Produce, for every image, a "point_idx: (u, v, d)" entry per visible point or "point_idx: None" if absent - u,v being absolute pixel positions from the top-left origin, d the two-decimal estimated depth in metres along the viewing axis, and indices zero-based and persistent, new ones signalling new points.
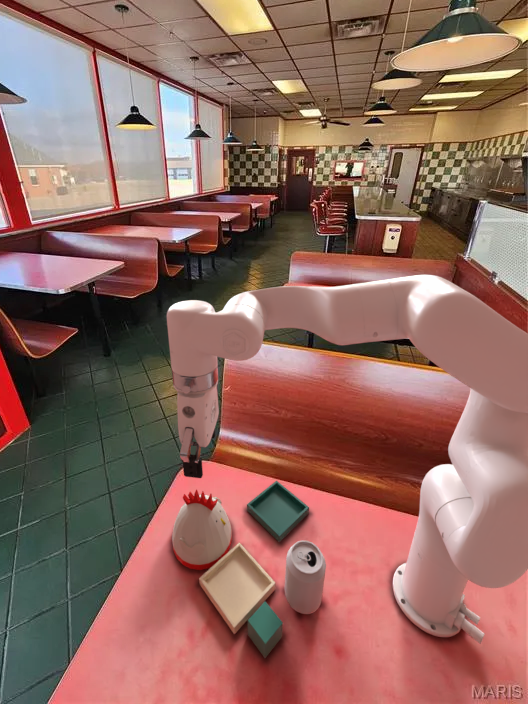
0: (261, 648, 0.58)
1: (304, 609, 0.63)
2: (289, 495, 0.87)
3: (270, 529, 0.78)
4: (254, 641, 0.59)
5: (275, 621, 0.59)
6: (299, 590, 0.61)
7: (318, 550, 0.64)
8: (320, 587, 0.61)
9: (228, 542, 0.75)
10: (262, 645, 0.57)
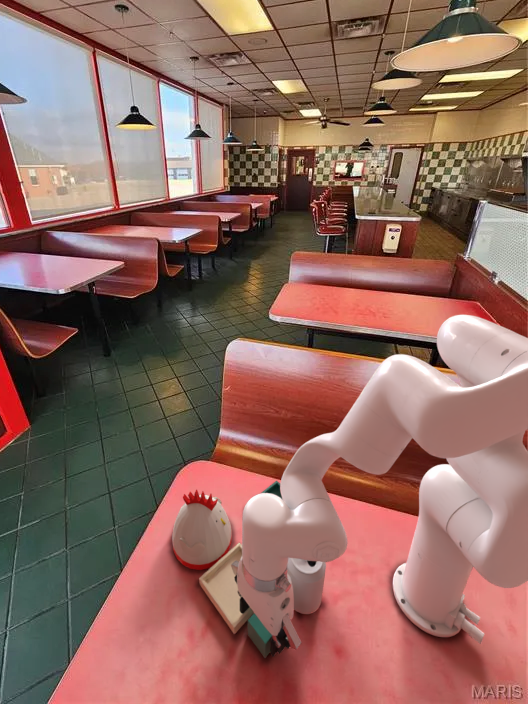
0: (261, 648, 0.58)
1: (304, 609, 0.63)
2: None
3: None
4: (254, 641, 0.59)
5: None
6: (299, 590, 0.61)
7: None
8: (320, 587, 0.61)
9: (228, 542, 0.75)
10: (262, 645, 0.57)
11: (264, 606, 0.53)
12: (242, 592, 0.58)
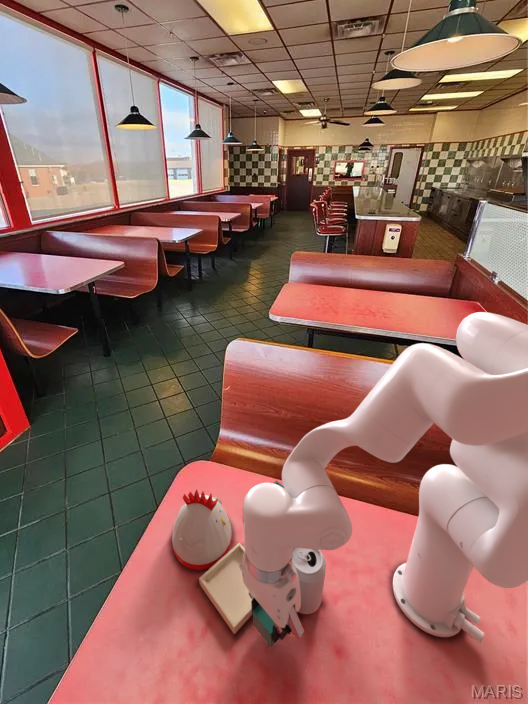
0: (267, 638, 0.57)
1: (304, 609, 0.63)
2: None
3: None
4: (260, 632, 0.59)
5: None
6: None
7: (318, 550, 0.64)
8: (320, 587, 0.61)
9: (228, 542, 0.75)
10: (267, 635, 0.57)
11: (270, 598, 0.51)
12: (247, 585, 0.57)
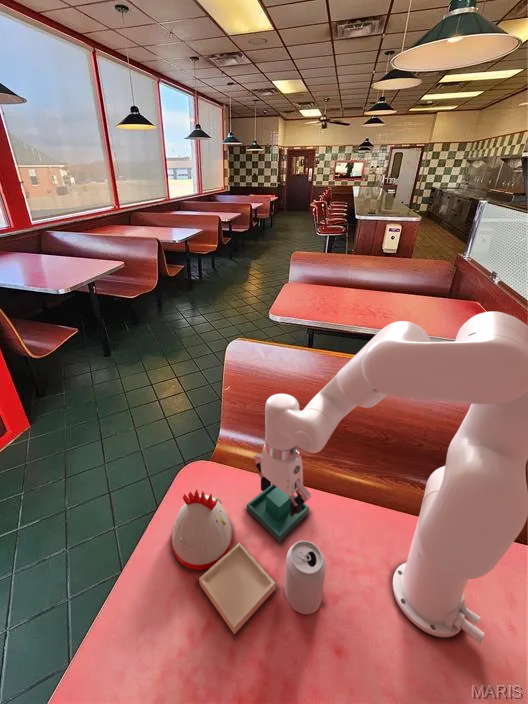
0: (276, 513, 0.81)
1: (304, 609, 0.63)
2: None
3: (270, 529, 0.78)
4: (270, 510, 0.83)
5: (285, 496, 0.83)
6: (299, 590, 0.61)
7: (318, 550, 0.64)
8: (320, 587, 0.61)
9: (228, 542, 0.75)
10: (277, 510, 0.81)
11: (282, 473, 0.75)
12: (265, 473, 0.80)
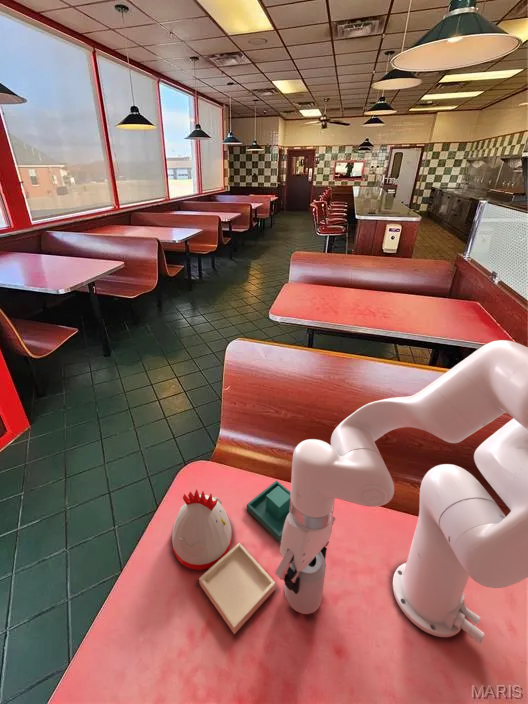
0: (276, 513, 0.81)
1: (304, 609, 0.63)
2: None
3: (270, 529, 0.78)
4: (270, 510, 0.83)
5: (285, 496, 0.83)
6: (299, 590, 0.61)
7: None
8: (320, 587, 0.61)
9: (228, 542, 0.75)
10: (277, 510, 0.81)
11: (328, 525, 0.59)
12: (307, 561, 0.58)
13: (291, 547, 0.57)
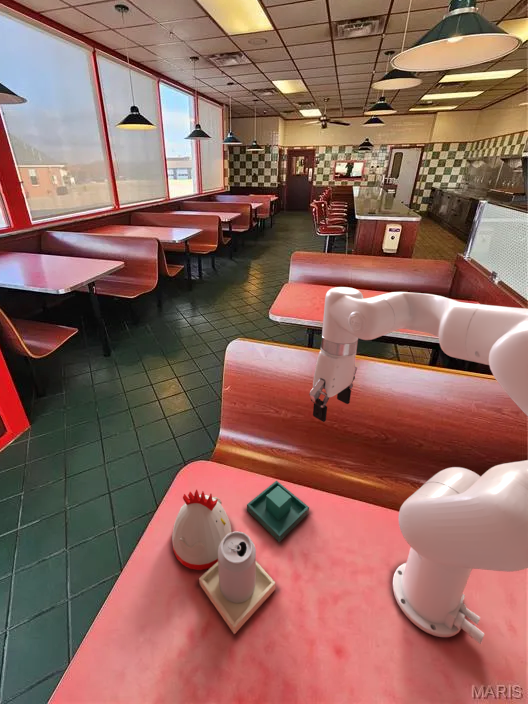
0: (276, 513, 0.81)
1: (235, 599, 0.64)
2: None
3: (270, 529, 0.78)
4: (270, 510, 0.83)
5: (285, 496, 0.83)
6: (228, 579, 0.62)
7: (249, 540, 0.65)
8: (249, 576, 0.63)
9: None
10: (277, 510, 0.81)
11: (352, 364, 0.73)
12: (336, 389, 0.71)
13: (323, 375, 0.70)
